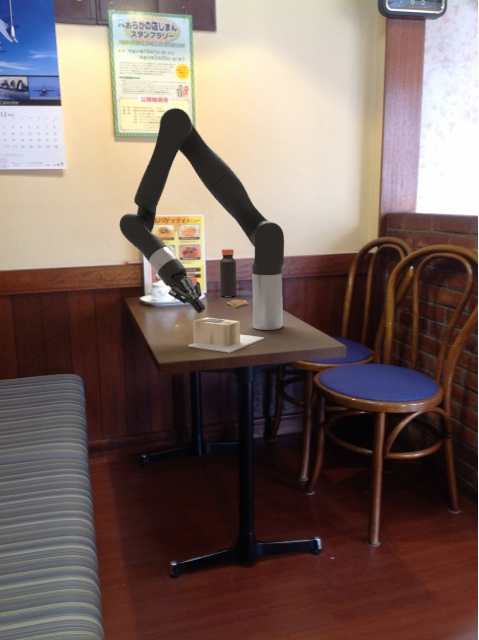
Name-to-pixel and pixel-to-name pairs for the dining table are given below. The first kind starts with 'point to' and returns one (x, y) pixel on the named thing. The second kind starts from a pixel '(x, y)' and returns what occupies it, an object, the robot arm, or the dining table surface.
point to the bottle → (228, 273)
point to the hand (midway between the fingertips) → (202, 311)
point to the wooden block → (216, 331)
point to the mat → (244, 341)
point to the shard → (237, 303)
